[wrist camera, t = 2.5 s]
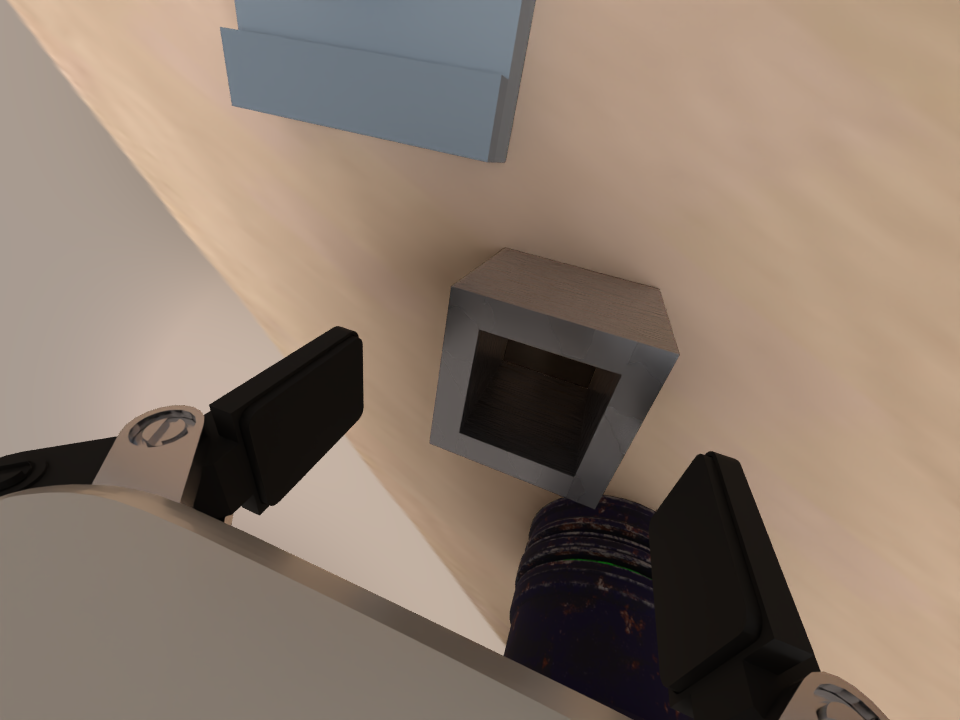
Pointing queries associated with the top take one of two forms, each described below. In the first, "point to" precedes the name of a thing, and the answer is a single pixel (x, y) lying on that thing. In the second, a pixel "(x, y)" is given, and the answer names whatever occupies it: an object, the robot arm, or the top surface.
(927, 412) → the top surface
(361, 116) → the shaft block
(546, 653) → the dark blue barrel
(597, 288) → the grey hollow block
